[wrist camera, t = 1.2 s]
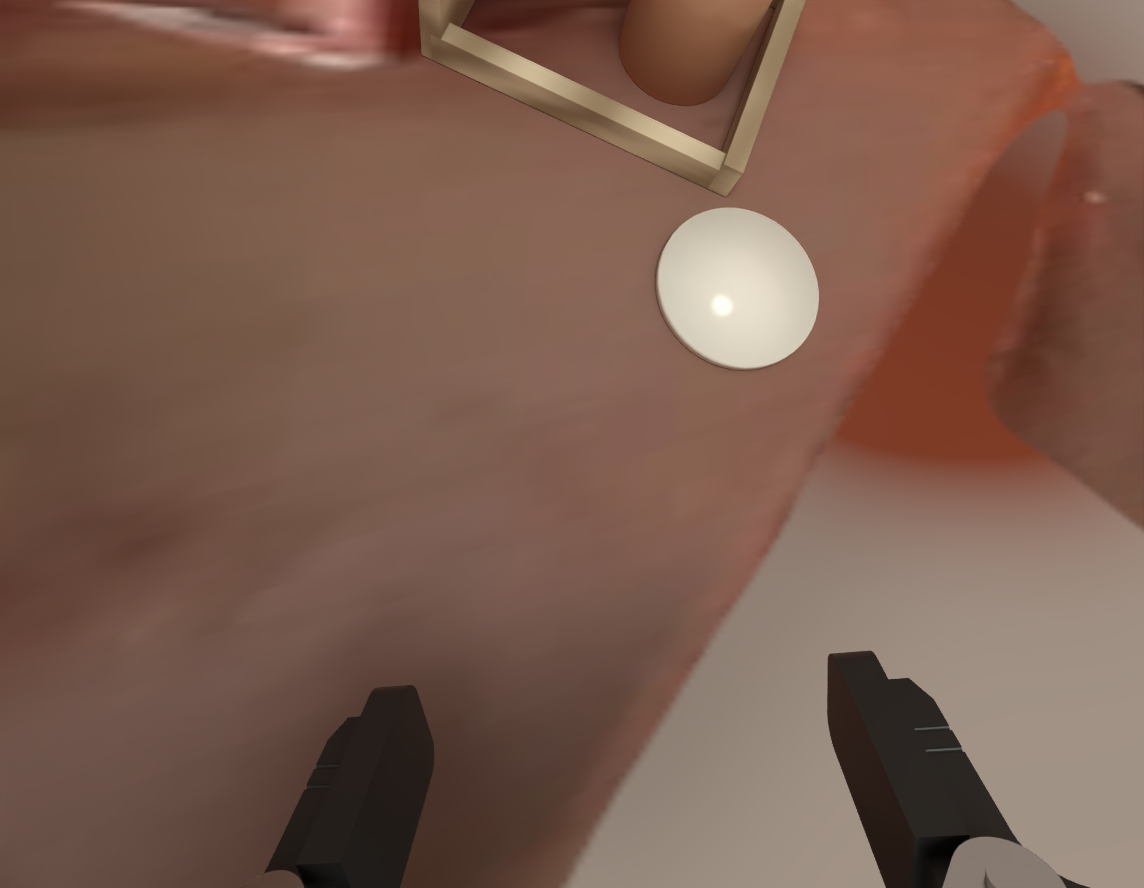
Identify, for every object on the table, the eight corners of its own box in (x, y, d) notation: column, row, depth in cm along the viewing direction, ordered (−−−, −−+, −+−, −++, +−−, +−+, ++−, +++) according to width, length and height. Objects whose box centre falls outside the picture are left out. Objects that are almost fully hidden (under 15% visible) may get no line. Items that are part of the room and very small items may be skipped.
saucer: (632, 328, 30) (635, 323, 30) (686, 188, 32) (690, 181, 32) (786, 396, 31) (793, 393, 30) (830, 255, 33) (836, 249, 32)
